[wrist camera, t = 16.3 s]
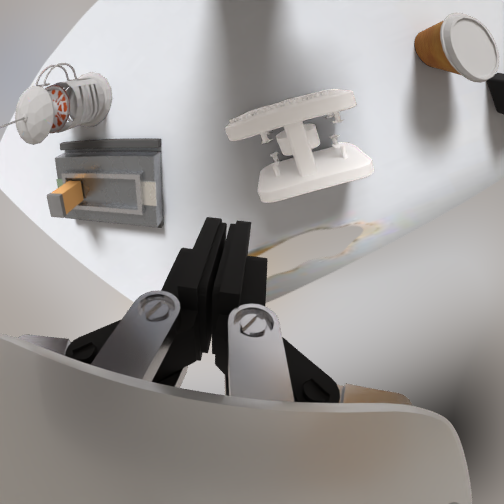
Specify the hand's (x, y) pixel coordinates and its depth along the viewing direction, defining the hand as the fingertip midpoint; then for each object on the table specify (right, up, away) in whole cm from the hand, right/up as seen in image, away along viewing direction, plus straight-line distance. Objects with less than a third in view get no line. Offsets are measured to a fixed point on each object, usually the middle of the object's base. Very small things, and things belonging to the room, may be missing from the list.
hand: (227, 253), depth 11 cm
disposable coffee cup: (+28, +31, +16) cm, 45 cm away
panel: (-24, +12, +33) cm, 42 cm away
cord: (-23, +18, +29) cm, 41 cm away
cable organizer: (+7, +17, +27) cm, 33 cm away
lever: (-29, +11, +30) cm, 43 cm away
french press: (-26, +26, +24) cm, 43 cm away
